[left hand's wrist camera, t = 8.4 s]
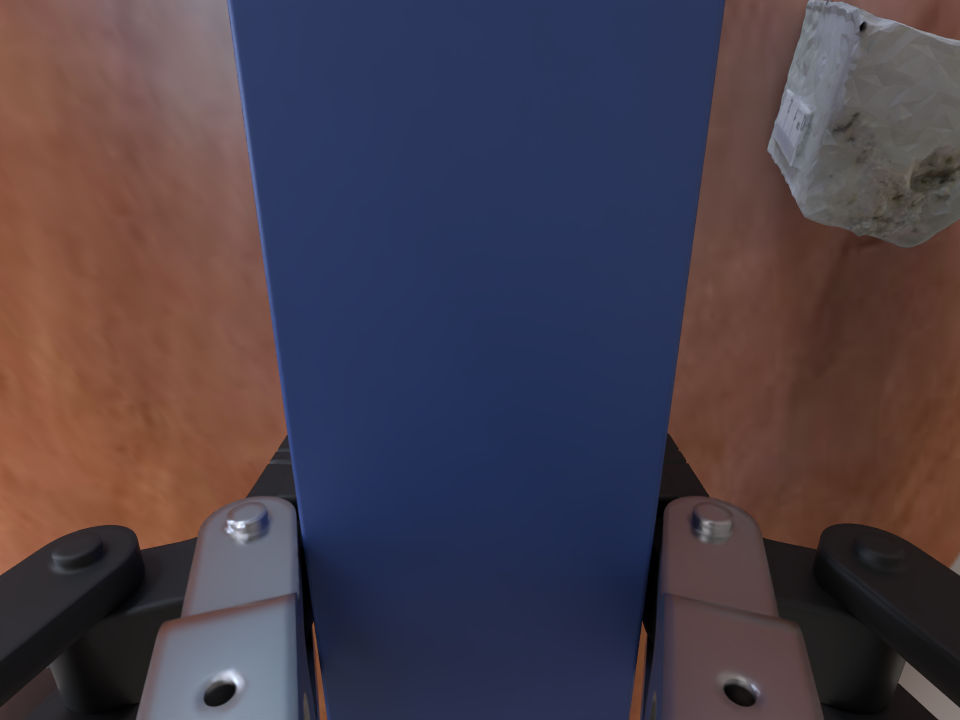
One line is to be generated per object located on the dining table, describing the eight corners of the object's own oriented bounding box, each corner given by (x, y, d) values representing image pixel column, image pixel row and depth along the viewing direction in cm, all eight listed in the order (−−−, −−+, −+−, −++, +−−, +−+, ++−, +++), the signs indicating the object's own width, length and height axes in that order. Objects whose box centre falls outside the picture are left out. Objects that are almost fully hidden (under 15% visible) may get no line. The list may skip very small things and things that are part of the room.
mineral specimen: (719, -24, 19) (953, -125, 12) (915, 36, 21) (1215, -18, 14) (659, 201, 21) (823, 235, 14) (841, 233, 24) (1064, 276, 16)
